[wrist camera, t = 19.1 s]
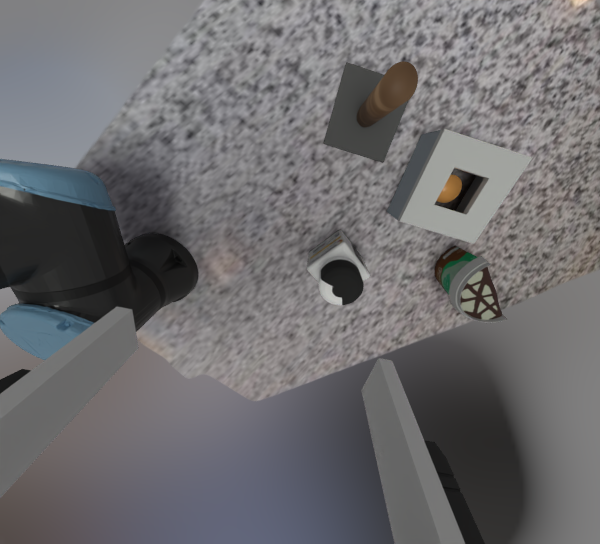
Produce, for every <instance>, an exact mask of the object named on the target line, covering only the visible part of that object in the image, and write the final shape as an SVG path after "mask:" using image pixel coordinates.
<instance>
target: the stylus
mask: <svg viewBox="0 0 600 544" xmlns="http://www.w3.org/2000/svg"><path fill="white" fill-rule="evenodd" d="M417 82H418V75H417V71H416V69H415V67H414V66H413V65H412V64H410V63H408V62H399V63H396V64H395V65H393V66H392V67H391V68H390V69H389V70H388V71H387V73H386V74H385V75H384V76H383V78H382V79H381V80H380V82H379V83H378V84H377V86H376V87H375V88H374V90H373V91H372V92H371V94H370V95H369V96H368V98H367V99H366V100H365V102H364V103H363V104H362V105H361V107H360V108H359V110H358V112H357V122H358V124H359V125H360V126H362V127H370V126H371V125H373V124H374V123H376V122H377V121H379V120H380V119H382V118H383V117H385V116H386V115H387V114H389V113H390V112H392V111H393V110H395V109H396V108H398V107H399V106H401V105H402V104H404V103H405V102H406V101H408V100H409V99H410V98H411V97H412V95H413V94H414V92H415V90H416V87H417Z"/></svg>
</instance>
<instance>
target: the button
mask: <svg viewBox="0 0 600 544" xmlns="http://www.w3.org/2000/svg"><path fill="white" fill-rule="evenodd" d="M461 188H462V182H461V180H460V178H459V177H458V176H456V175H450V177H449V179H448V180H447V182H446V184H445V186H444V188H443V190H442V191H441V193H440V195H439V197H438V199H437V201H438V202H442V203H446V202H450V201H452V200H453V199H455V198H456V197H457V196H458V195H459V193H460V191H461Z"/></svg>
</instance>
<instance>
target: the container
mask: <svg viewBox="0 0 600 544" xmlns="http://www.w3.org/2000/svg"><path fill="white" fill-rule="evenodd" d="M307 270H308V271H309V273H310V274H311V275H312V276H313V277H314V278H315V279H316V280H317V282H318V283H319V292H320V294H321V296H322V297H323V298H324V299H325V300H326V301H327V302H329V303H331V304H335V305H346V304H349V303H352V302H354V301H355V300H356V299H357V298H358V297H359V296H360V295H361V293H362V291H363V281H364V280H366V279H368V278H369V277H370V274H369V271H368V269H367V267H366V265H365V262H364V260H363V258H362V257H361V255H360V254H359V253H358V251H357V250H356V249H355V247H354V246H353V245H352V243H351V242H350V241H349V240H348V238H347V237H346V236H345V234H344V233H343V232H342V230H339V231H337V232H336V233H335V234H333V235H332V236H330V237H329V238H328V239H326V240H325V241H324V242H322V243H321V244H320V245H318V246H317V247H315V248H314V249H313V250H311V251H310V252H309V256H308V265H307Z"/></svg>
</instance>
